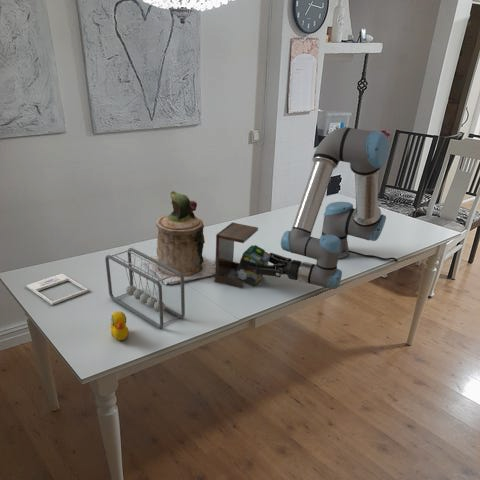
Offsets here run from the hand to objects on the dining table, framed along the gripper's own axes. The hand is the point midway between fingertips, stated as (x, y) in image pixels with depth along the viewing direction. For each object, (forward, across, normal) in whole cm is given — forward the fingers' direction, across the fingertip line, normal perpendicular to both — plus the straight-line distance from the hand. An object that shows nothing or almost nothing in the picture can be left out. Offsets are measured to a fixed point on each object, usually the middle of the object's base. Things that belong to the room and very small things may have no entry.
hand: (245, 258), depth 184 cm
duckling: (+19, -58, -9) cm, 61 cm away
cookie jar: (+27, -4, -9) cm, 29 cm away
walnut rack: (+4, 0, -9) cm, 10 cm away
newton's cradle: (+22, -38, -9) cm, 45 cm away
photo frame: (+58, -42, -9) cm, 72 cm away
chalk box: (-1, 0, -8) cm, 8 cm away
